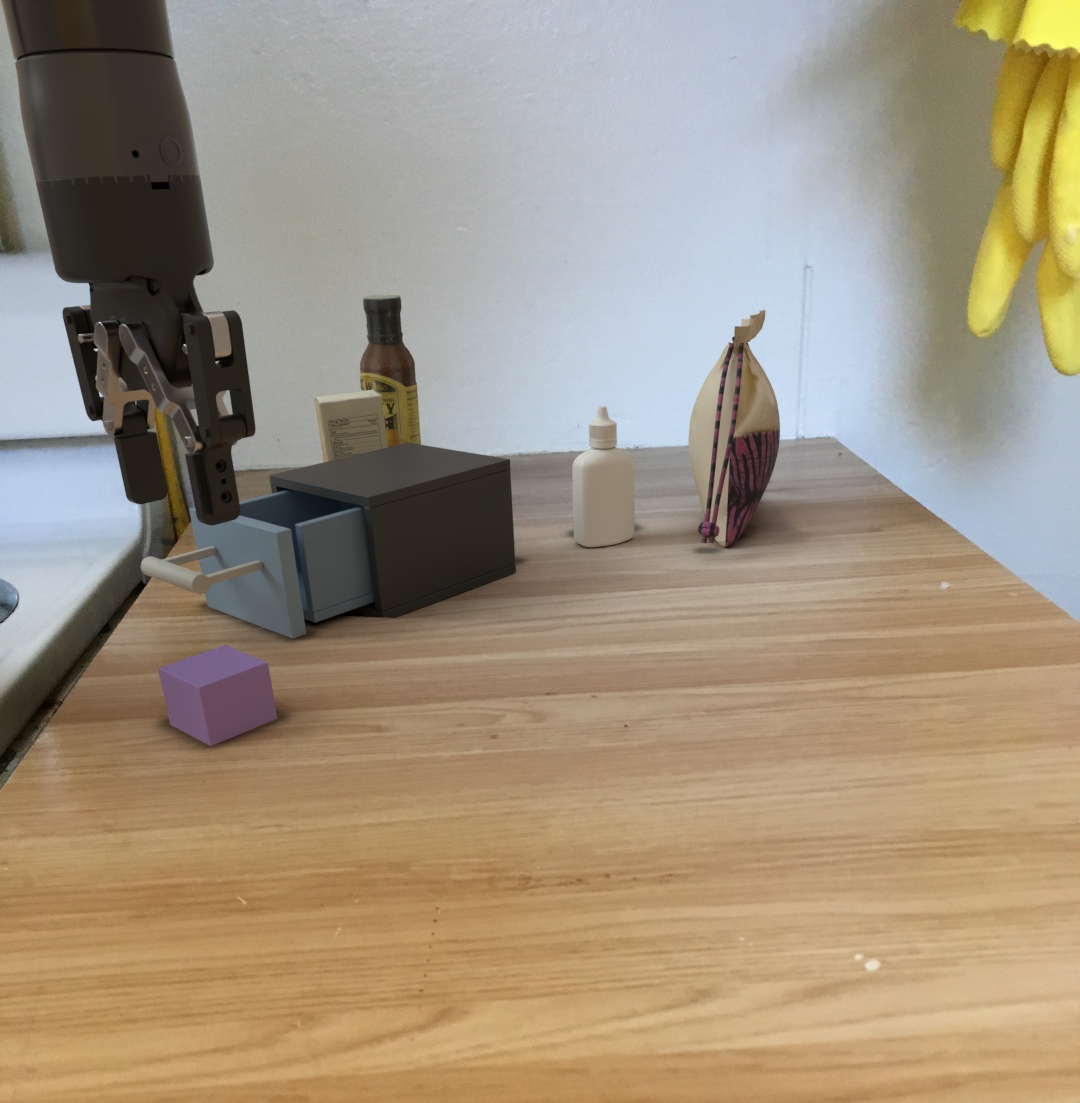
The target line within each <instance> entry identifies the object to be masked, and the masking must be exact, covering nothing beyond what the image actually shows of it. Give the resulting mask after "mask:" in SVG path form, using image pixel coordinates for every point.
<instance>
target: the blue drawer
mask: <svg viewBox="0 0 1080 1103" xmlns="http://www.w3.org/2000/svg"><path fill="white" fill-rule="evenodd" d="M239 504H240V515H239V517H238V518H237V519H235V520H232V521H229V522H225V523H221V524H217V525H213V526H211V525H207V524H204V523H201V522H200V521H199V520H198V519H197V516H196V511H195V506H193V507H190V508H188V509H189V511H188V512H189V515H190V520H191V525H192V526H191V527H192V532H193V537H194V542H195V547H196V549H195V550H191V551H188V552H183V553H181V554H177V555H173V556H169V557H166V558H163V559H161V558H158V557H155V556H151V555H150V556H145V557H144V558H143V559H142V561H141V562H140V570H141V572H142V574H144V575H145V576H148V577H150V578H153V579H155V580H159V581H161V582H164V583H167V584H169V585H172V586H174V587H177V588H180V589H182V590H185V591H187V592H191V593H194V594H197V595H200V596H201V595H204V594H205V600H206V605H207V606H206V607H208V608H211V609H213V610H215V611H219V612H221V613H223V614H226V615H229V616H231V617H234V618H236V619H239V620H241V621H244V622H247V623H250V624H252V625H256V626H258V627H261V628H263V629H266V630H268V631H270V632H274V633H276V634H279V635H282V636H285V637H287V638H290V639H292V640H295V639H297V638H299V637H302V636H305V635H307V628H306V623H305V620H307V621H310V622H312V623H318V622H321V621H324V620H327V619H330V618H333V617H336V616H339V615H341V614H344V613H347V612H351V611H350V610H353V609H356V608H358V607H361V606H364V605H367V604H370V603H373V602H375V598H374V590H373V581H372V573H371V564H370V555H369V547H368V538H367V530H366V521H365V512H364V507H365V506H360V505H356V504H352V503H347V502H343V501H339V500H334V499H330V498H326V497H321V496H317V495H312V494H308V493H304V492H299V491H295V490H291V489H288V490H284V491H280V492H276V493H272V492H271V493H267V494H264V495H260V496H257V497H252V498H248V499H244V500H239ZM195 561H198V562H199V568H200V572H199V571H195V570H192V569H191V568H187V567H184V566H181V565H184V564H188V563H191V562H192V563H193V562H195Z"/></svg>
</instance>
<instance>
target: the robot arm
mask: <svg viewBox="0 0 1080 1103" xmlns="http://www.w3.org/2000/svg"><path fill="white" fill-rule="evenodd" d="M0 2H1V6H2V11H3V15H4V20H5V24H6V29H7V33H8V38H9V44H10V47H11V51H12V56H13V59H14V60H15V63H14V65H15V70H16V77H17V85H18V86H17V87H18V96H19V107H20V114H21V116H20V117H21V121H22V127H23V131H24V136H25V140H26V144H27V145H26V146H27V149H28V154H29V158H30V163H31V167H32V172H33V176H34V181H35V186H36V190H37V195H38V199H39V203H40V208H41V212H42V217H43V220H44V221H43V222H44V226H45V230H46V234H47V239H48V244H49V248H50V253H51V258H52V261H53V262H52V263H53V266H54V270H55V273H56V275H57V276H58V277H59V278H60V279H61V280H62V281H64V282H66V283H70V284H71V283H72V284H88V286H89V303H90V304H86V305H76V306H64V307H63V309H62V320H63V324H64V328H65V332H66V336H67V341H68V345H69V349H70V352H71V356H72V362H73V365H74V369H75V373H76V377H77V382H78V385H79V386H78V387H79V389H80V394H81V398H82V401H83V406H84V409H85V413H86V415H87V417H88V419H89V420H90V421H91V422H97V421H101V422H102V426H103V428H104V431H105V432H106V434H107V435H108V436H109V437H114V438H113V441H114V445H115V450H116V455H117V459H118V465H119V469H120V474H121V479H122V483H123V487H124V488H123V489H124V493H125V497H126V499H127V501H129V502H131V503H133V504H135V505H145V504H149V503H154V502H158V501H161V500H164V499H166V497H167V495H168V492H169V489H168V484H167V480H166V473H165V469H164V464H163V459H162V454H161V448H160V442H159V438H158V434H157V431H156V432H155V431H150V430H153V429H154V427H155V423H156V412H157V410H158V411H159V413H161V414H163V415H167V416H169V418H170V419H171V420H172V423H173V424H174V427H175V429H176V431H177V433H178V436H179V437H180V439H181V442H182V444H183V446H184V448H185V450H186V451H187V452H188V453H184V457H185V461H186V467H187V473H188V478H189V483H190V489H191V494H192V499H193V504H194V507H195V511H196V516H197V519H198V520H199V521H200V522H201V523H204V524H207V525H211V526H213V525H217V524H221V523H225V522H229V521H232V520H235V519H237V518H238V517H239V515H240V504H239V502H240V498H239V491H238V487H237V480H236V473H235V468H234V467H235V466H234V462H233V456H232V455H233V454H232V447H233V446H235V445H237V442H238V441H240V440H242V439H247V438H252V437H254V436H255V434H256V429H257V428H256V420H255V412H254V405H253V398H252V389H251V382H250V375H249V374H250V373H249V367H248V366H249V365H248V358H247V352H246V345H245V344H246V342H245V336H244V327H243V322H242V318H241V316H240V314H239V313H238V312H237V311H236V310H233V309H232V310H222V311H220V310H217V311H216V310H215V311H207V312H205V311H204V309H203V307H202V305H201V302H200V300H199V297H198V294H197V291H196V287H195V285H194V284H195V283H194V281H195V279H196V277H198V276H204V275H208V274H209V273H210V272H211V271H212V270H213V268H214V265H215V260H214V254H213V248H212V242H211V236H210V230H209V223H208V217H207V212H206V206H205V198H204V191H203V186H202V180H201V174H200V167H199V161H198V154H197V150H196V149H197V148H196V143H195V136H194V131H193V130H194V129H193V125H192V119H191V115H190V110H189V106H188V103H187V99H186V96H185V93H184V90H183V85H182V82H181V78H180V75H179V71H178V65H177V62H176V60H175V58H176V56H175V55H176V54H175V48H174V42H173V37H172V31H171V25H170V18H169V13H168V6H167V1H166V0H0ZM227 391H229V398H230V405H231V412H232V413H231V414H230V413H229V411H228V409H227V407H226V405H225V402H224V401H223V400H224V399H223V397H224V396H225V395H226V393H227ZM100 394H101V396H100ZM192 410H195V411H196V418H197V421H196V420H195V417H194V416H193V412H192ZM197 424H198V425H197Z"/></svg>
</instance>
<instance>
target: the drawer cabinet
mask: <svg viewBox="0 0 1080 1103" xmlns="http://www.w3.org/2000/svg"><path fill="white" fill-rule="evenodd" d="M511 475H512V474H511V459H510V458H506V457H505V458H504V457H500V456H499V457H498V456H493V455H486V454H480V453H475V452H468V451H462V450H455V449H450V448H443V447H437V446H431V445H425V444H421V445H419V444H413V443H405V444H400V445H396V446H392V447H388V448H383V449H379V450H375V451H371V452H366V453H362V454H358V455H353V456H349V457H345V458H341V459H336V460H332V461H328V462H324V461H323V462H320V463H316V464H311V465H307V466H302V467H298V468H294V469H290V470H285V471H280V472H277V473H272V474H269V475H268V477H269V484H270V490H271V494H272V493H276V492H280V491H284V490H288V489H291V490H295V491H299V492H304V493H308V494H312V495H317V496H321V497H326V498H330V499H334V500H339V501H343V502H347V503H352V504H356V505H360V506H365V507H364V512H365V521H366V530H367V538H368V547H369V555H370V564H371V573H372V581H373V590H374V598H375V602H373V603H370V604H367V605H364V606H361V607H358V608H356V609H353V610H350V611H349V612H353V613H356V614H359V615H361V616H364V617H367V618H380V619H381V618H382V619H394V618H397V617H400V616H402V615H405V614H408V613H410V612H413V611H416V610H418V609H422V608H424V607H426V606H429V605H432V604H435V603H438V602H439V601H440V602H441V601H443V600H446V599H448V598H451V597H453V596H456V595H460V594H461V593H464V592H467V591H470V590H473V589H475V588H478V587H480V586H483V585H486V584H488V583H492V582H495V581H497V580H500V579H502V578H505V577H507V576H510V575H513V574H515V573H517V566H516V550H515V549H516V548H515V531H514V530H515V528H514V510H513V494H512V492H513V490H512V476H511Z"/></svg>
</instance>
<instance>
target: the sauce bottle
mask: <svg viewBox="0 0 1080 1103" xmlns="http://www.w3.org/2000/svg"><path fill="white" fill-rule="evenodd" d="M362 305H363V311H364V313H365V317H366V318H365V320H366V330H367V335H366V338H367V342H368V344H367V346H366V349H364V352H363V353H362V356H361V359H360V362H359V371H360V372H359V382H360V383H359V384H360V391H367V390H374V391H376V392H378V393H379V394H380V395H381V397H382V404H383V412H384V420H385V428H386V435H387V443H388V447H392V446H396V445H400V444H405V443H413V444H419V445H422V438H421V437H422V436H421V424H420V410H419V396H418V383H417V380H416V362H415V360H414V358H413V355H412V353H411V352H410V350H409V349H408V348H407V346H406V345H405V343H404V340H403V337H404V333H403V332H402V319H401V312H402V298H401V296H400V295H399V294H375V295H374V294H373V295H366V296H364V297H363V298H362Z"/></svg>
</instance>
